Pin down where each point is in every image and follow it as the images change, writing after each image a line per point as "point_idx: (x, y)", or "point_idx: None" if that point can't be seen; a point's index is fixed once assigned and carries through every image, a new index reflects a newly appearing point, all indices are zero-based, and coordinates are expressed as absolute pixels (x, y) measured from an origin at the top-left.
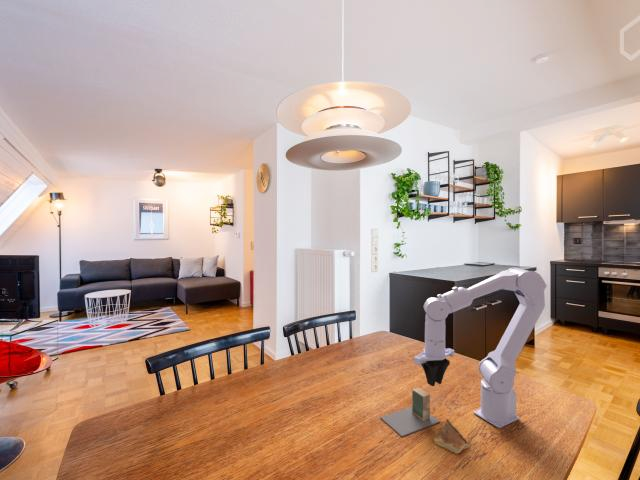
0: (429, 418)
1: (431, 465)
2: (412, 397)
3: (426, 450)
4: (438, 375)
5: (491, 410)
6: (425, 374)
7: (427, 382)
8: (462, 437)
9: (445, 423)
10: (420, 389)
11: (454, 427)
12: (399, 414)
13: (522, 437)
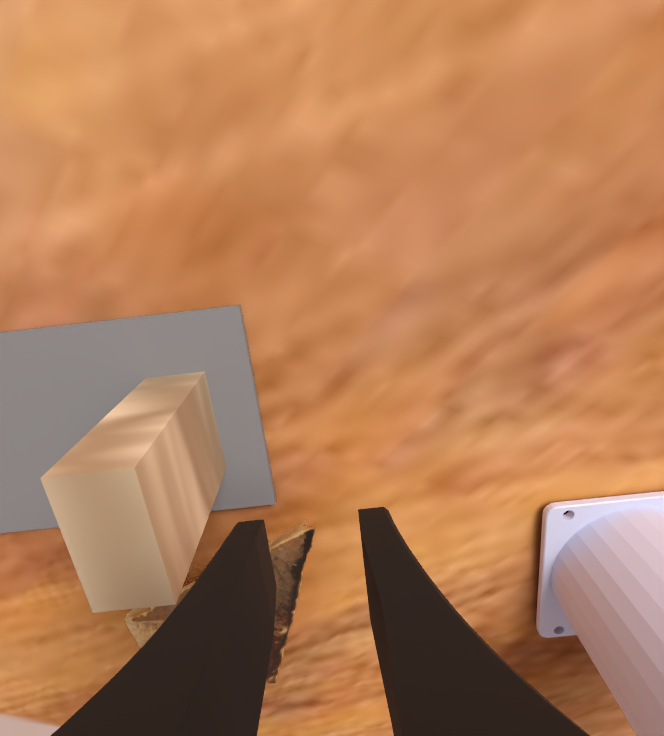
0: (224, 469)
1: (38, 690)
2: (89, 435)
3: (62, 630)
4: (380, 647)
5: (589, 653)
6: (176, 608)
7: (231, 533)
8: (277, 651)
9: (274, 553)
10: (133, 508)
11: (298, 590)
12: (40, 366)
13: (569, 687)
